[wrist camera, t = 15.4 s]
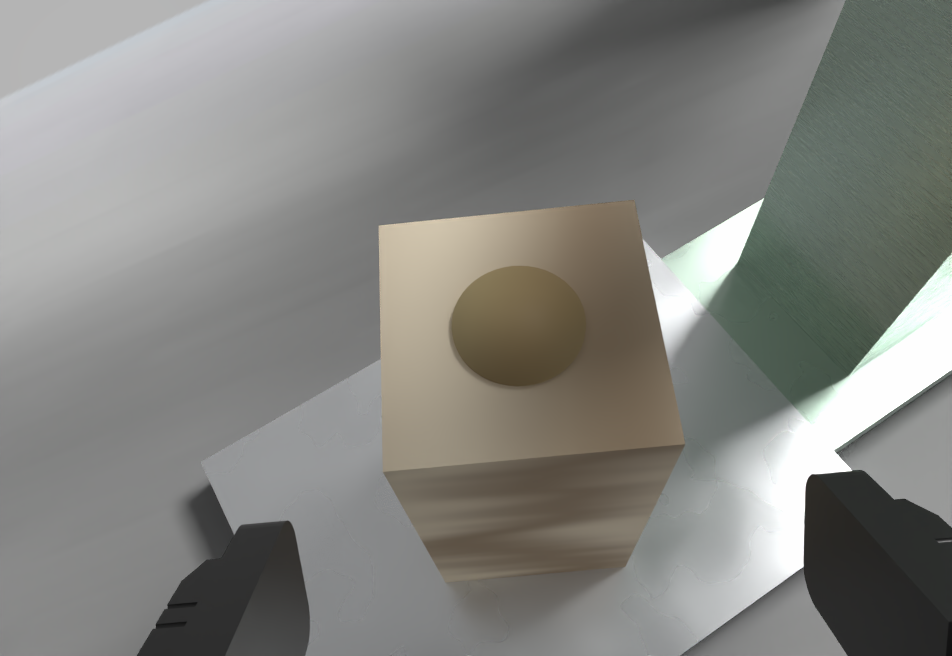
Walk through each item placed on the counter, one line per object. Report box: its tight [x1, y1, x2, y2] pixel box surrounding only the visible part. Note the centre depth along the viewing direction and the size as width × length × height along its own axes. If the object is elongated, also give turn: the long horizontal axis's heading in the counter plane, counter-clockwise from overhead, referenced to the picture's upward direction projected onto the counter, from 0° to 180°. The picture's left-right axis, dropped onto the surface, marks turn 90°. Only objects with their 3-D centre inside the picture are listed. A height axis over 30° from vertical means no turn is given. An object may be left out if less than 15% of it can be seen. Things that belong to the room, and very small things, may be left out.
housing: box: [379, 200, 685, 583], centre depth 18 cm, size 5×5×10 cm
